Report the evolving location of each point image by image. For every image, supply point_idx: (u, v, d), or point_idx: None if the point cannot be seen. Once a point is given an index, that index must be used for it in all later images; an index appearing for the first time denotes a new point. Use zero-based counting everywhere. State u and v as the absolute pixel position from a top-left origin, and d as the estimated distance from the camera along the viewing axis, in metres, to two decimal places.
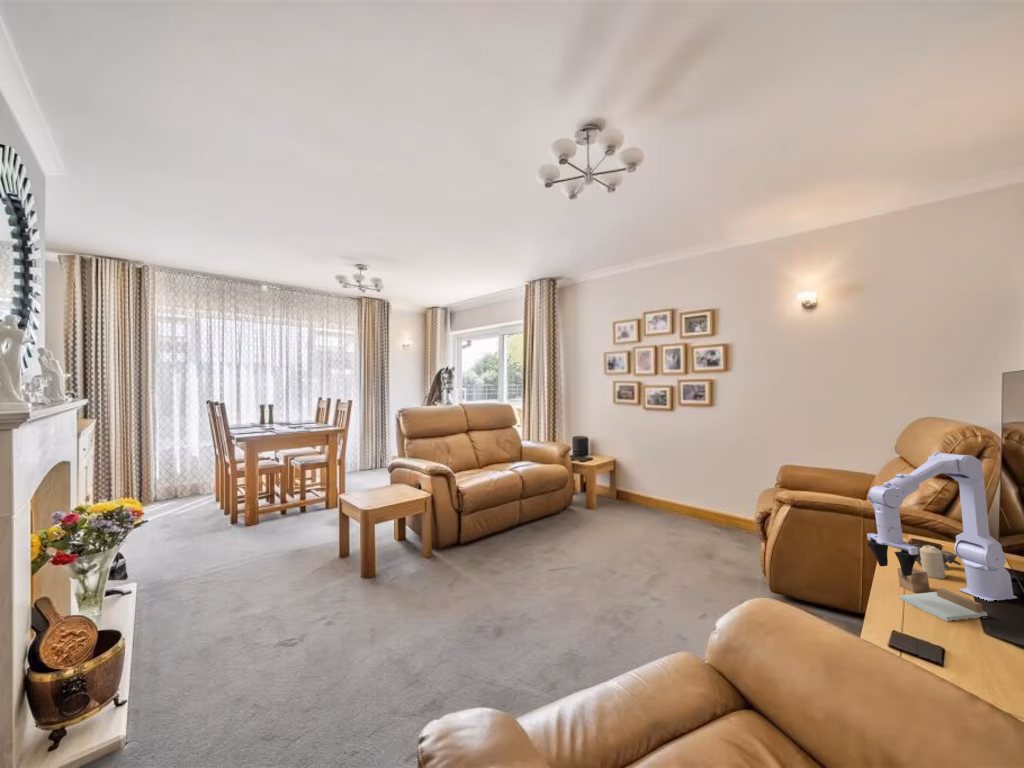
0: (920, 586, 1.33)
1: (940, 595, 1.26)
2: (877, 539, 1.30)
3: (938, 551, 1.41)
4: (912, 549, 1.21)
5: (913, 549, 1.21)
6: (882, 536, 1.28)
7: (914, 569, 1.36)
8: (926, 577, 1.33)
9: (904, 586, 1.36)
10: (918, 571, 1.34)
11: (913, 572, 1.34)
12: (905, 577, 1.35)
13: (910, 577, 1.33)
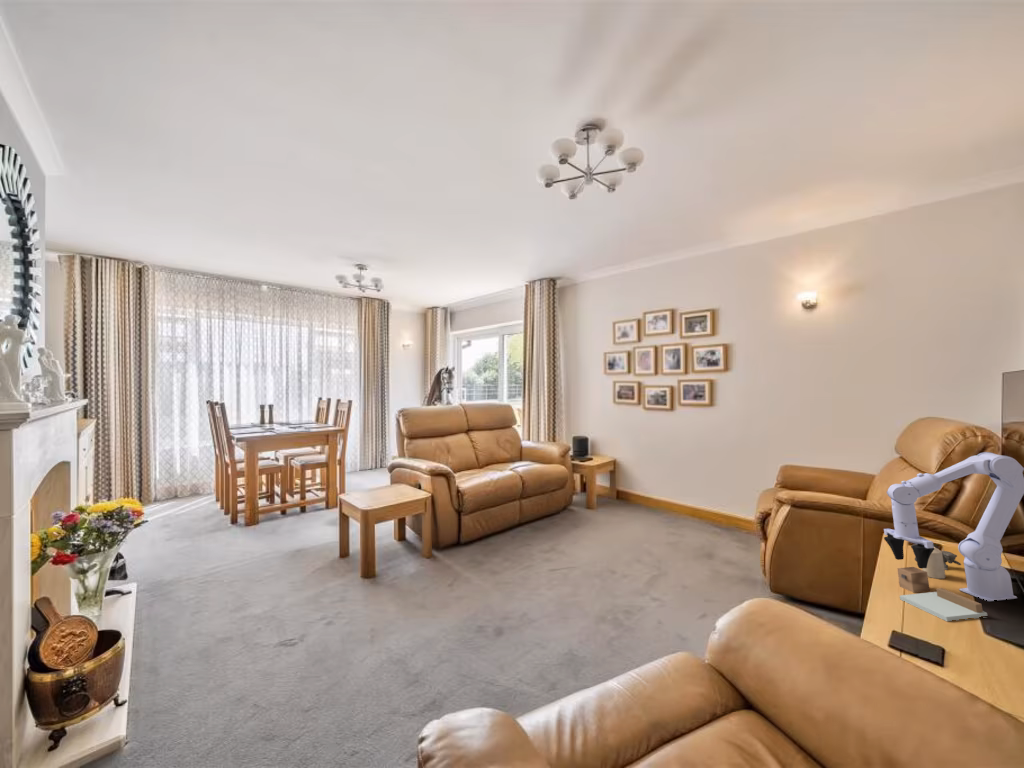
0: (920, 586, 1.33)
1: (940, 595, 1.26)
2: (894, 534, 1.38)
3: (938, 551, 1.41)
4: (928, 543, 1.29)
5: (929, 543, 1.29)
6: (899, 531, 1.36)
7: (914, 569, 1.36)
8: (926, 577, 1.33)
9: (904, 586, 1.36)
10: (918, 571, 1.34)
11: (913, 572, 1.34)
12: (905, 577, 1.35)
13: (910, 577, 1.33)
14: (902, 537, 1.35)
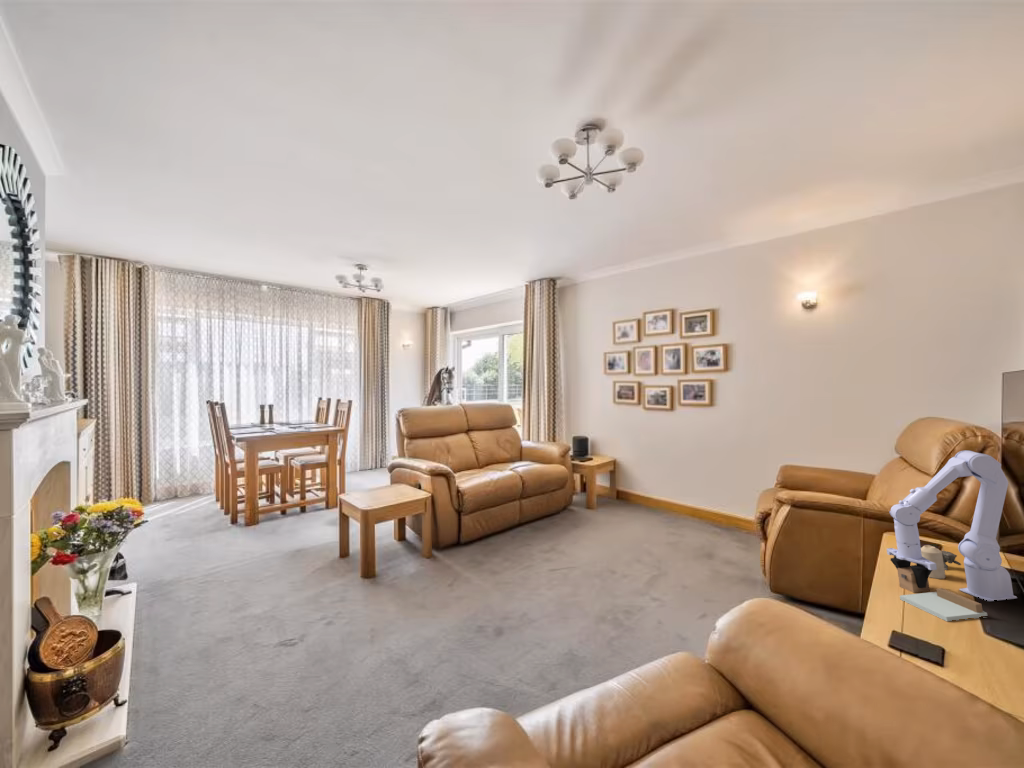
0: None
1: (940, 595, 1.26)
2: (897, 554, 1.38)
3: (938, 551, 1.41)
4: (931, 565, 1.29)
5: (932, 565, 1.29)
6: (902, 552, 1.35)
7: None
8: None
9: (904, 586, 1.36)
10: None
11: None
12: (905, 577, 1.35)
13: (910, 577, 1.33)
14: (905, 558, 1.35)
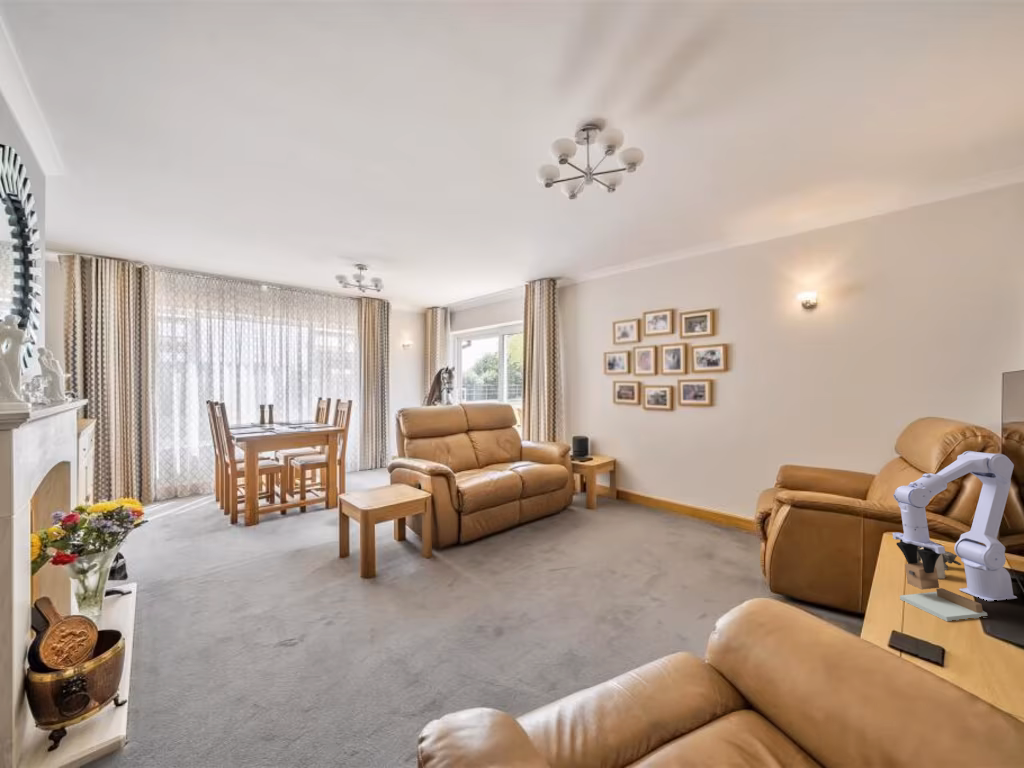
0: (928, 582, 1.27)
1: (940, 595, 1.26)
2: (903, 538, 1.31)
3: None
4: (939, 548, 1.22)
5: (940, 548, 1.22)
6: (908, 535, 1.29)
7: (922, 565, 1.30)
8: (935, 573, 1.27)
9: (912, 583, 1.29)
10: None
11: (921, 568, 1.28)
12: (913, 573, 1.29)
13: (918, 573, 1.27)
14: (912, 541, 1.28)
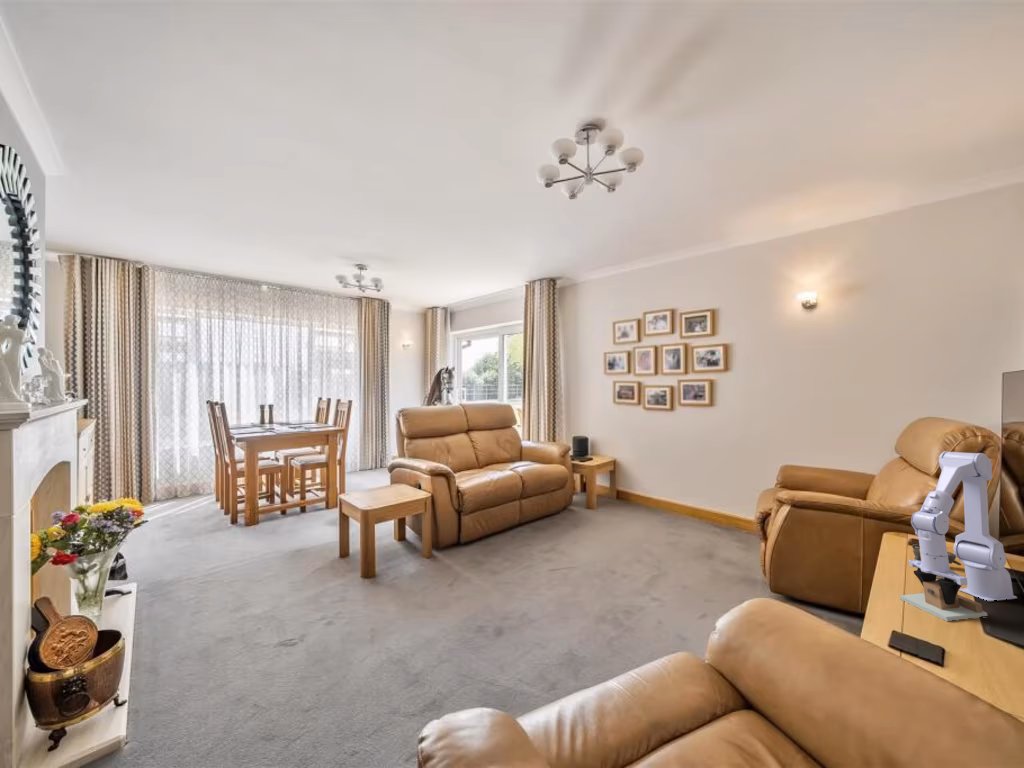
0: None
1: None
2: (921, 567, 1.24)
3: None
4: (961, 579, 1.16)
5: (962, 579, 1.16)
6: (927, 564, 1.22)
7: None
8: None
9: (931, 602, 1.23)
10: None
11: None
12: (932, 592, 1.22)
13: (938, 592, 1.20)
14: (931, 571, 1.21)
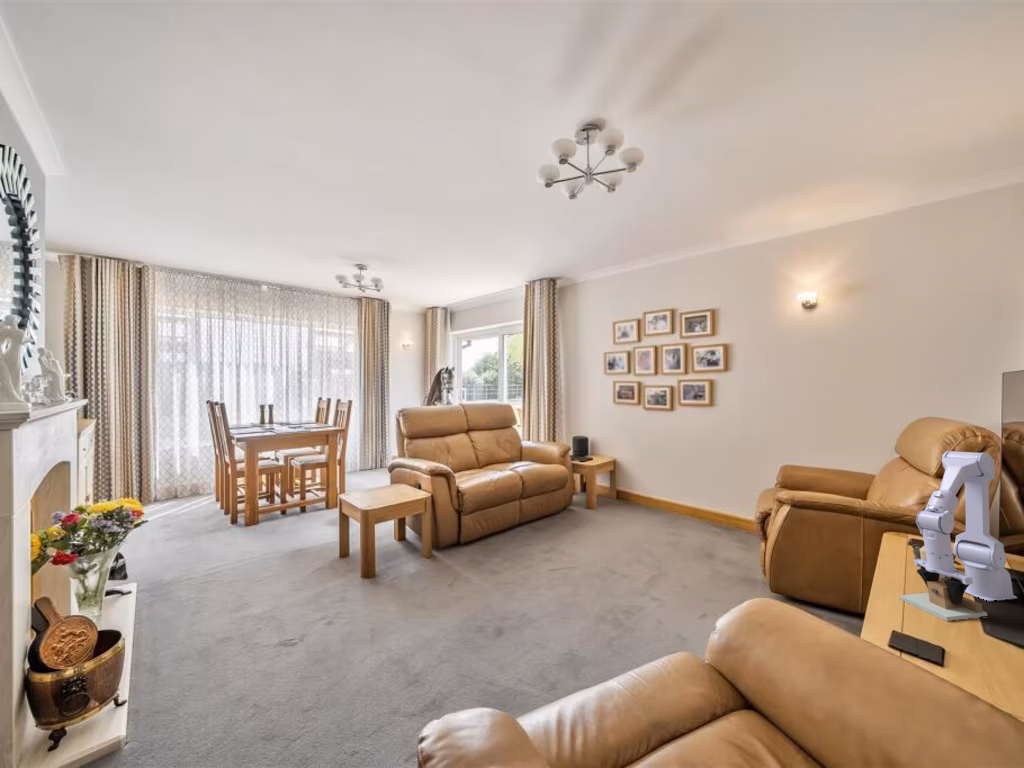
0: None
1: None
2: (926, 566, 1.24)
3: None
4: (966, 579, 1.16)
5: (967, 579, 1.16)
6: (932, 564, 1.22)
7: None
8: None
9: (935, 601, 1.23)
10: None
11: (945, 586, 1.21)
12: (936, 592, 1.22)
13: (942, 592, 1.20)
14: (936, 570, 1.22)
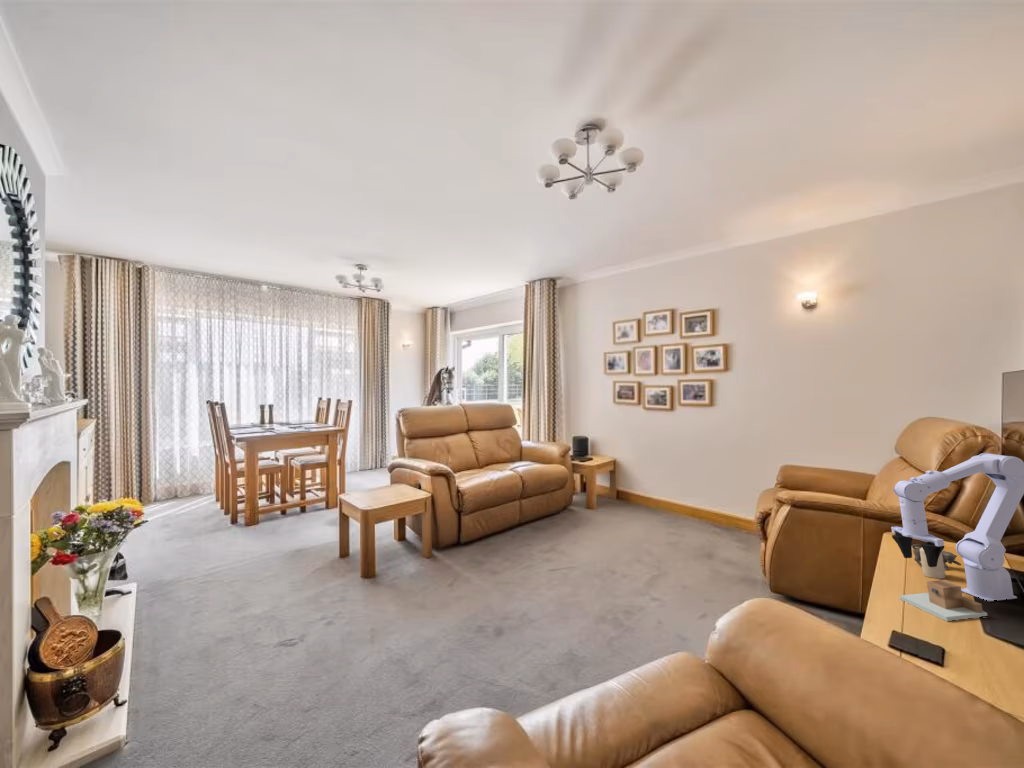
0: (953, 601, 1.20)
1: None
2: (902, 532, 1.34)
3: None
4: (938, 541, 1.25)
5: (939, 541, 1.25)
6: (908, 529, 1.32)
7: (946, 583, 1.23)
8: (960, 592, 1.20)
9: (935, 601, 1.23)
10: (951, 585, 1.21)
11: (945, 586, 1.21)
12: (936, 592, 1.22)
13: (942, 592, 1.20)
14: (911, 535, 1.31)
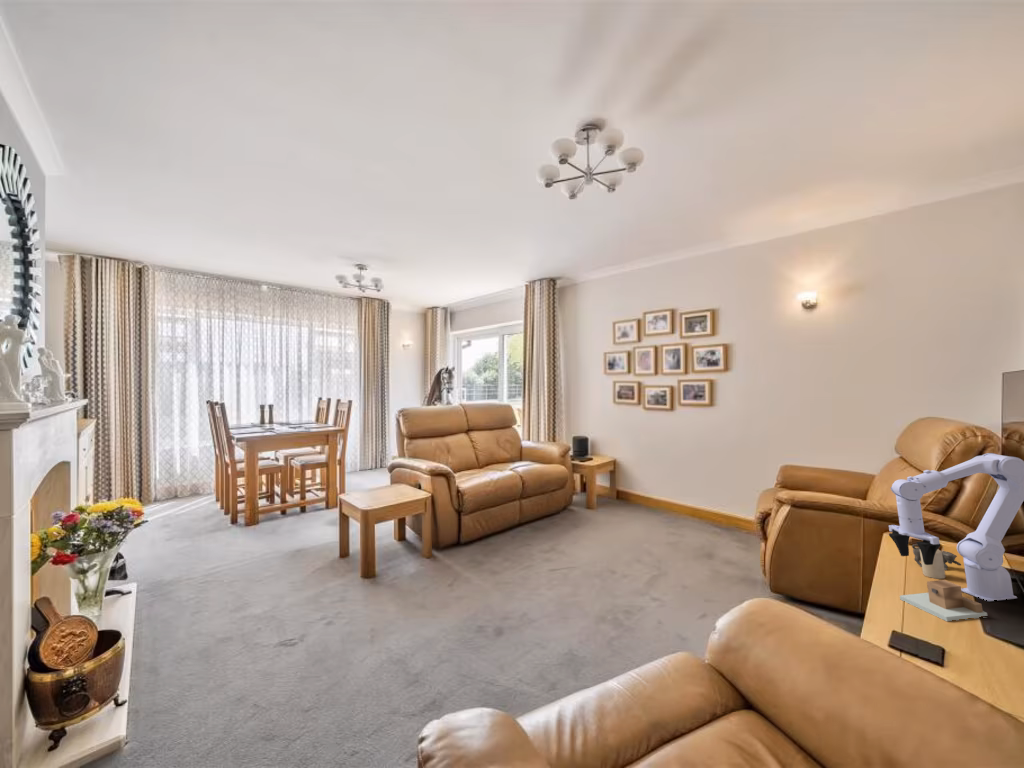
0: (953, 601, 1.20)
1: None
2: (899, 530, 1.36)
3: (938, 551, 1.41)
4: (934, 539, 1.27)
5: (935, 539, 1.27)
6: (904, 527, 1.34)
7: (946, 583, 1.23)
8: (960, 592, 1.20)
9: (935, 601, 1.23)
10: (951, 585, 1.21)
11: (945, 586, 1.21)
12: (936, 592, 1.22)
13: (942, 592, 1.20)
14: (907, 533, 1.33)
